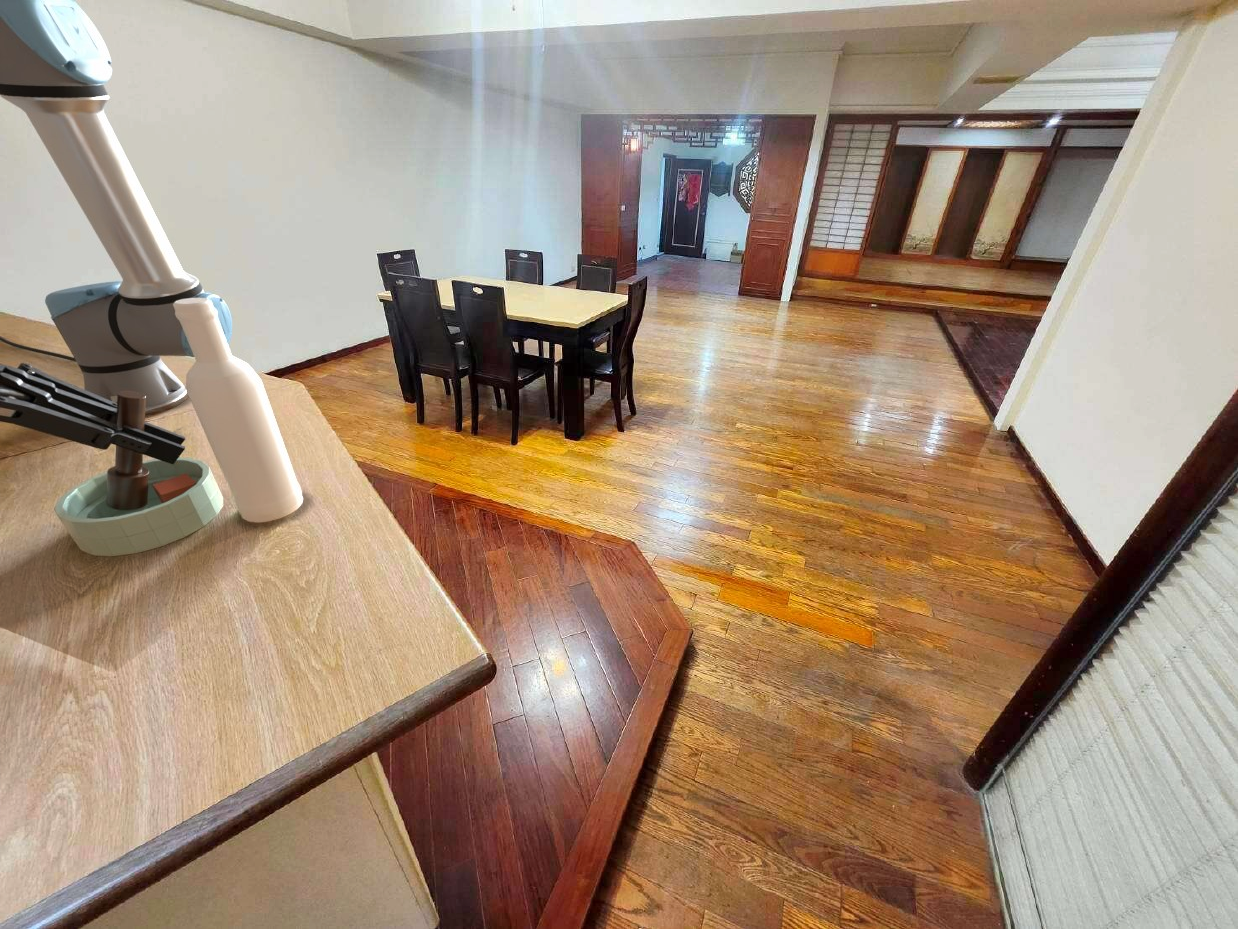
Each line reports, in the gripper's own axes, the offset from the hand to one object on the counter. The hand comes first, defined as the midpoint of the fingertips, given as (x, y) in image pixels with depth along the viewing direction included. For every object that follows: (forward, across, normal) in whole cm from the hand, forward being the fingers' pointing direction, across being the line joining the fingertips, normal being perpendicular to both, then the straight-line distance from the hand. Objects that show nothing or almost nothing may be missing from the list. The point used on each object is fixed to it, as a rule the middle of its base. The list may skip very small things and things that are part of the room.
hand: (179, 450), depth 69 cm
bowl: (+3, +2, -10) cm, 11 cm away
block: (+5, +1, -7) cm, 9 cm away
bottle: (+12, +7, -1) cm, 14 cm away
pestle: (-1, 0, -10) cm, 10 cm away
